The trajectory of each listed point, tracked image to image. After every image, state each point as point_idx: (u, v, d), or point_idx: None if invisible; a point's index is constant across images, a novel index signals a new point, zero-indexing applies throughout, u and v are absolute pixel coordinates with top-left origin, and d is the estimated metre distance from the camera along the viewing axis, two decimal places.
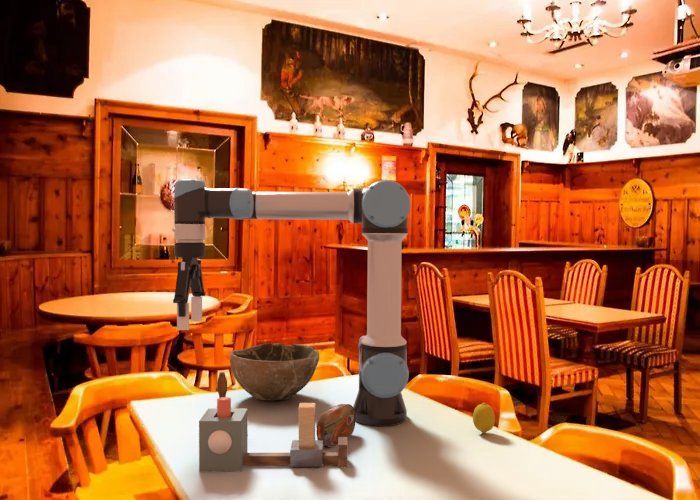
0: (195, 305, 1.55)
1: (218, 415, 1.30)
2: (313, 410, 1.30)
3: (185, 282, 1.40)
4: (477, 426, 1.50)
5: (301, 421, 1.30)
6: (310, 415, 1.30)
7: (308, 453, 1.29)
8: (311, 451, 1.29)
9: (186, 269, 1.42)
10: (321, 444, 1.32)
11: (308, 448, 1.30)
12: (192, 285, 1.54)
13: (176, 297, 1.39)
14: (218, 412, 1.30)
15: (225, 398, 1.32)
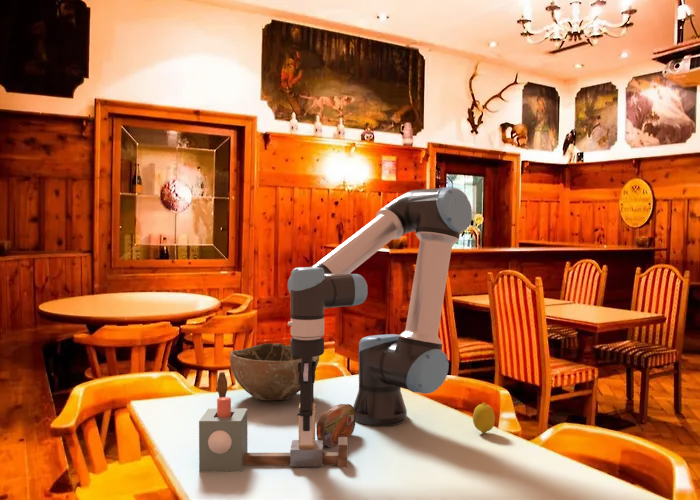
0: None
1: (218, 415, 1.30)
2: (313, 410, 1.30)
3: (310, 396, 1.26)
4: (477, 426, 1.50)
5: None
6: None
7: (308, 453, 1.29)
8: (311, 451, 1.29)
9: (309, 381, 1.25)
10: (321, 444, 1.32)
11: (308, 448, 1.30)
12: None
13: (302, 413, 1.26)
14: (218, 412, 1.30)
15: (225, 398, 1.32)
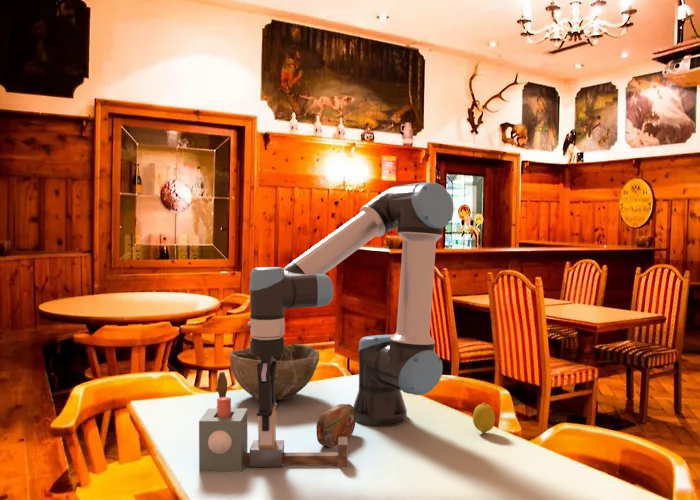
0: None
1: (218, 415, 1.30)
2: (273, 410, 1.30)
3: (268, 396, 1.26)
4: (477, 426, 1.50)
5: None
6: None
7: (267, 453, 1.29)
8: (270, 451, 1.29)
9: (268, 381, 1.25)
10: (281, 444, 1.32)
11: (268, 448, 1.29)
12: None
13: (260, 413, 1.26)
14: (218, 412, 1.30)
15: (225, 398, 1.32)
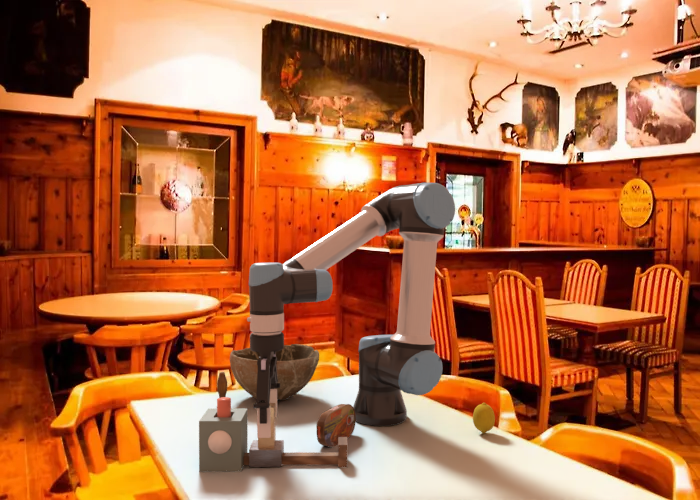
0: (270, 399, 1.38)
1: (218, 415, 1.30)
2: (272, 410, 1.30)
3: (267, 385, 1.23)
4: (477, 426, 1.50)
5: None
6: None
7: (267, 453, 1.29)
8: (270, 451, 1.29)
9: (267, 369, 1.24)
10: (281, 444, 1.32)
11: (267, 448, 1.29)
12: None
13: (258, 403, 1.21)
14: (218, 412, 1.30)
15: (225, 398, 1.32)
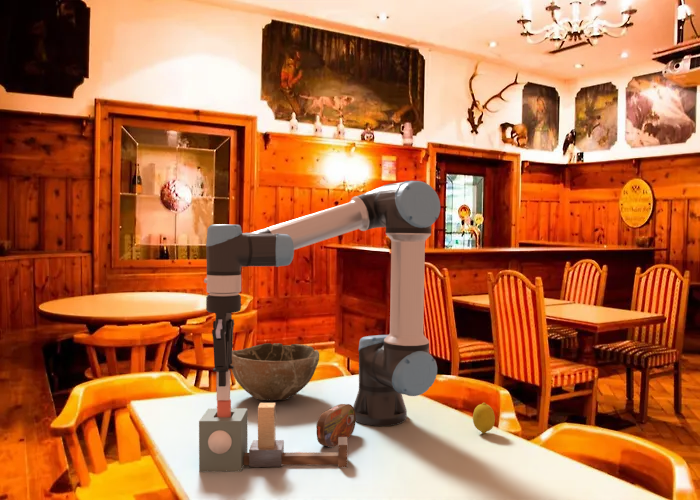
0: None
1: (218, 416, 1.30)
2: (272, 410, 1.30)
3: (224, 352, 1.26)
4: (477, 426, 1.50)
5: (261, 421, 1.30)
6: (269, 415, 1.30)
7: (267, 453, 1.29)
8: (270, 451, 1.29)
9: (222, 338, 1.25)
10: (281, 444, 1.32)
11: (267, 448, 1.29)
12: None
13: (216, 368, 1.27)
14: (218, 413, 1.30)
15: None
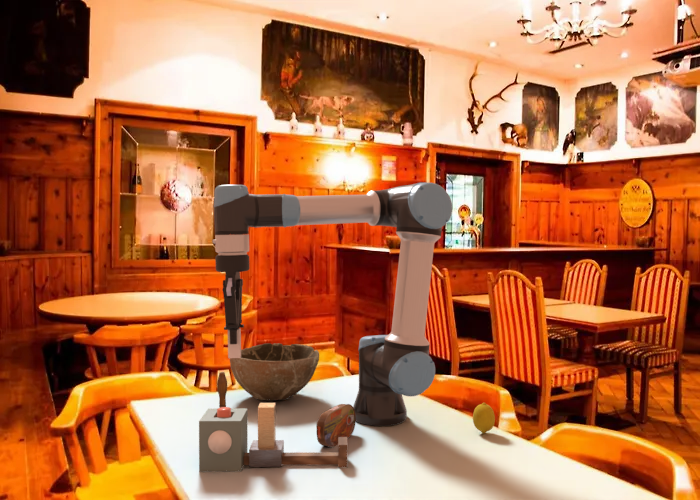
0: None
1: None
2: (272, 410, 1.30)
3: (235, 309, 1.29)
4: (477, 426, 1.50)
5: (261, 421, 1.30)
6: (269, 415, 1.30)
7: (267, 453, 1.29)
8: (270, 451, 1.29)
9: (233, 295, 1.28)
10: (281, 444, 1.32)
11: (267, 448, 1.29)
12: None
13: (227, 326, 1.30)
14: None
15: (225, 408, 1.32)
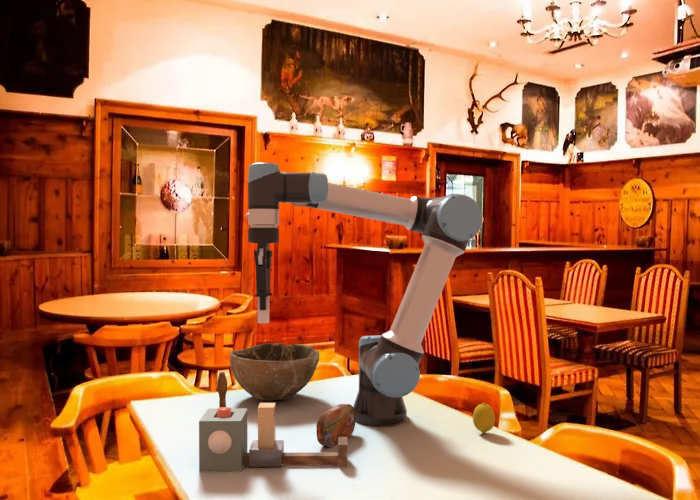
0: None
1: None
2: (272, 410, 1.30)
3: (265, 277, 1.40)
4: (477, 426, 1.50)
5: (261, 421, 1.30)
6: (269, 415, 1.30)
7: (267, 453, 1.29)
8: (270, 451, 1.29)
9: (264, 264, 1.39)
10: (281, 444, 1.32)
11: (267, 448, 1.29)
12: None
13: (258, 292, 1.41)
14: None
15: (225, 408, 1.32)
